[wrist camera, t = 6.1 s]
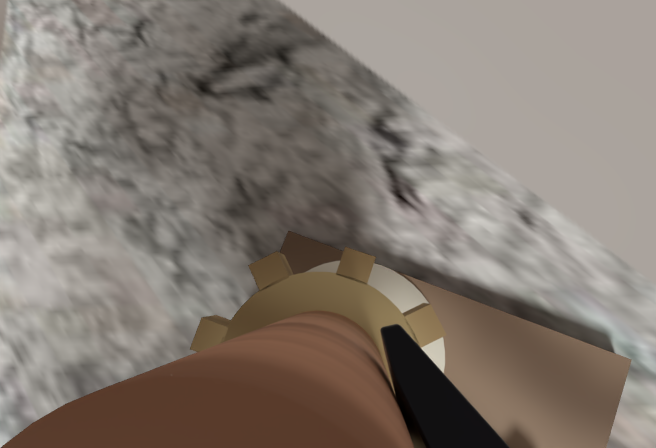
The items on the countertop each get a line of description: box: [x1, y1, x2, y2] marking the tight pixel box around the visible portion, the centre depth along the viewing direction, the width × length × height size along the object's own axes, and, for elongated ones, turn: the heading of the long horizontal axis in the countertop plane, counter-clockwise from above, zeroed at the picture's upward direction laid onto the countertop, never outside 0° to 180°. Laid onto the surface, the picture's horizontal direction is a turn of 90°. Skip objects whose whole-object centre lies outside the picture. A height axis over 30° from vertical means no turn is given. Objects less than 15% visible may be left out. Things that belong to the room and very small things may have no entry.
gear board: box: [280, 231, 631, 448], centre depth 19 cm, size 15×17×4 cm
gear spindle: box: [1, 247, 446, 448], centre depth 9 cm, size 9×9×12 cm
